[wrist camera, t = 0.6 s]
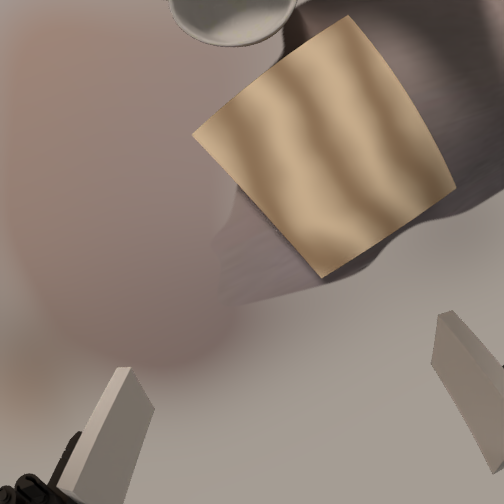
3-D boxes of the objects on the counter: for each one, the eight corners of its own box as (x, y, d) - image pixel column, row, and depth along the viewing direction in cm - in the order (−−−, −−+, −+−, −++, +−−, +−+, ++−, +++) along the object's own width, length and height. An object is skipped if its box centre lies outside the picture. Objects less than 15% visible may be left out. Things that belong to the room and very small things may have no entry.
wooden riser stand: (335, 25, 24) (348, 14, 19) (433, 170, 31) (456, 188, 26) (205, 125, 31) (191, 134, 26) (316, 250, 38) (321, 278, 33)
